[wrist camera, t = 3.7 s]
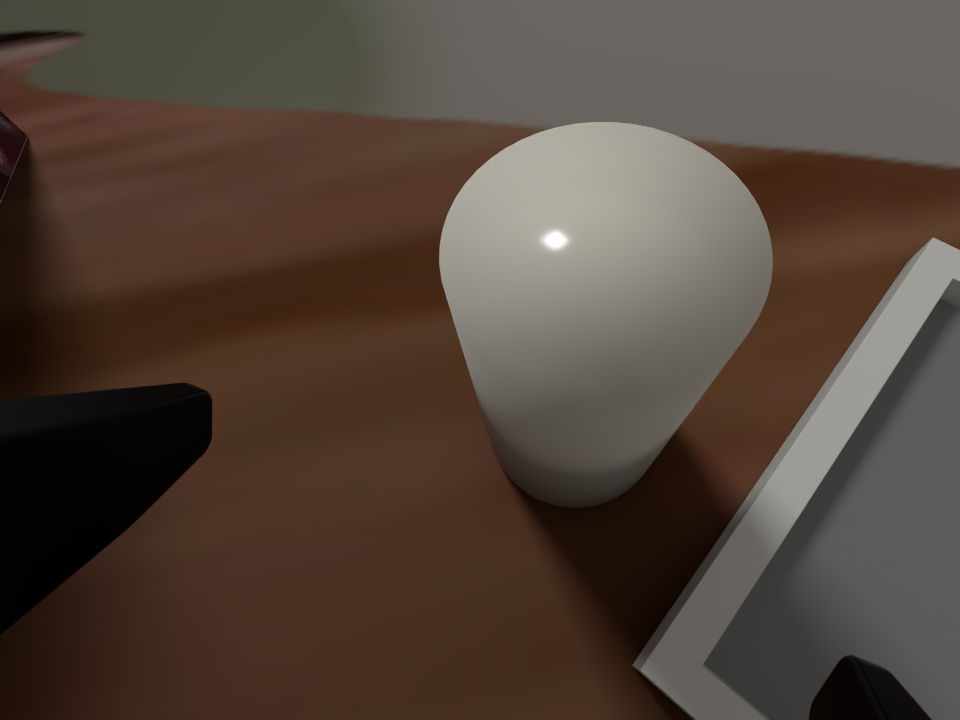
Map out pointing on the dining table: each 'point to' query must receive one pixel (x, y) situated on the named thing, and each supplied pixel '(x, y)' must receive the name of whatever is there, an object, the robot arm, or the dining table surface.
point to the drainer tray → (841, 532)
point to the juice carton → (9, 150)
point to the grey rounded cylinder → (599, 298)
